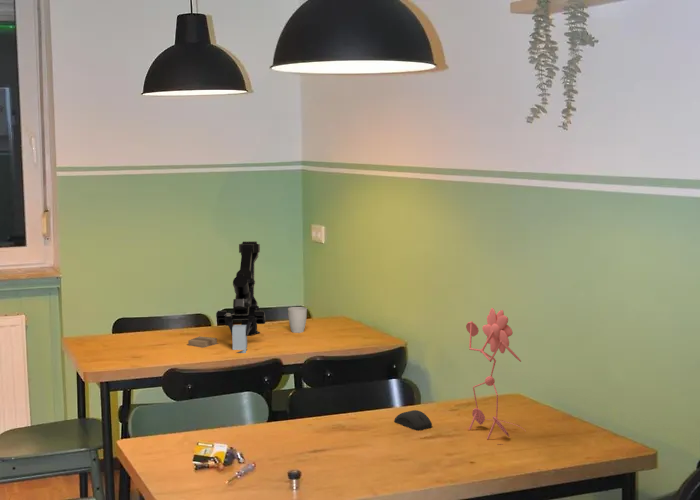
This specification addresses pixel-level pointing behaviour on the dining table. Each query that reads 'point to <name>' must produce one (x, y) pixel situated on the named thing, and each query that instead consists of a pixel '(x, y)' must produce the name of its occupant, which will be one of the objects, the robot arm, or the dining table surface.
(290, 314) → the cup
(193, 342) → the upper slab
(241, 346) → the grey upright block
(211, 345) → the lower slab
